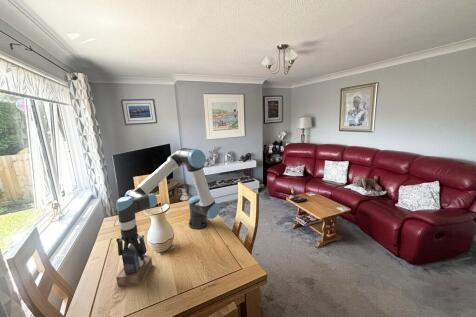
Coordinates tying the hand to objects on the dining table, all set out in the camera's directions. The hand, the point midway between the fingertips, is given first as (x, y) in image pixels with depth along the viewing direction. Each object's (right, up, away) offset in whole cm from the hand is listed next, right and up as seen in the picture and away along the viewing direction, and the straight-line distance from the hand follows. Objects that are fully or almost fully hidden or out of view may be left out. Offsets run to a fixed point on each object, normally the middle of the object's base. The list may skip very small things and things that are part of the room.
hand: (134, 265), depth 107 cm
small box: (0, -1, 0) cm, 1 cm away
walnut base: (0, -6, +1) cm, 6 cm away
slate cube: (-4, -3, +14) cm, 15 cm away
